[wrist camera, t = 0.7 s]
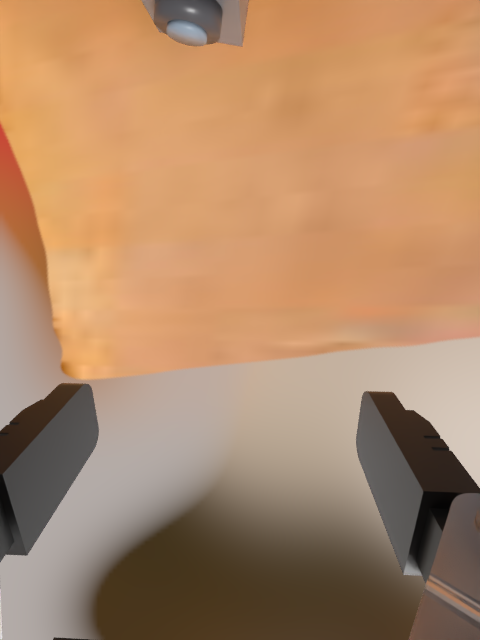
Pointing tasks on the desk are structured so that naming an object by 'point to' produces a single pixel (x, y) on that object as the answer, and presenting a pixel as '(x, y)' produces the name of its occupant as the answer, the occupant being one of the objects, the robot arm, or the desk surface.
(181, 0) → the camera body
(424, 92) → the desk surface
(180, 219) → the desk surface
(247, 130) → the desk surface
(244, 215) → the desk surface
